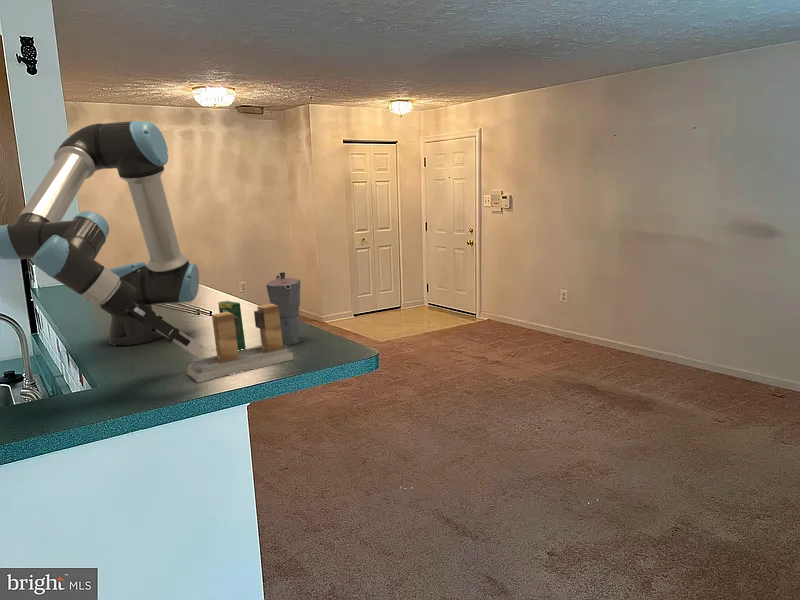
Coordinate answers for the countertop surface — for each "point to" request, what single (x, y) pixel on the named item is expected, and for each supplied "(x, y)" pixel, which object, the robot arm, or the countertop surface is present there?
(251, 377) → the countertop surface
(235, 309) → the coffee box
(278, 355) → the rail
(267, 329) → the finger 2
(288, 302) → the moka pot
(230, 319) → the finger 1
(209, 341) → the countertop surface
